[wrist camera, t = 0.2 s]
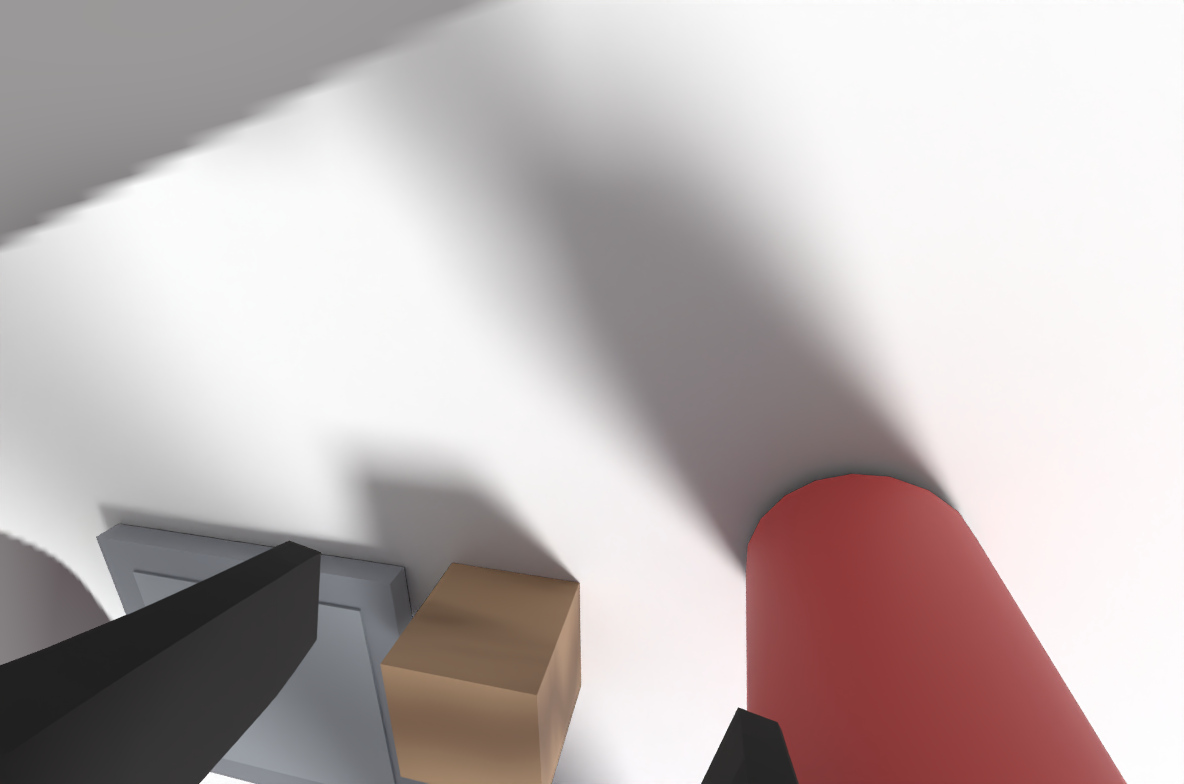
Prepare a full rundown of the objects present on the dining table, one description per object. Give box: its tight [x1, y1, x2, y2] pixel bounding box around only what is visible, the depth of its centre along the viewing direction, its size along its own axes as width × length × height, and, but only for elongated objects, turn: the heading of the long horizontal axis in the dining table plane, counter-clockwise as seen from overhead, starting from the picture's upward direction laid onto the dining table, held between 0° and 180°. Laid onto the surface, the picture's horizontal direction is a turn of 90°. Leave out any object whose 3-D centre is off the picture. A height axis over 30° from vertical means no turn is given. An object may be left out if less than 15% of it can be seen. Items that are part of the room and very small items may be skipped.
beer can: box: [746, 474, 1127, 784], centre depth 13 cm, size 7×7×12 cm
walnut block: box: [380, 563, 581, 784], centre depth 21 cm, size 5×5×5 cm
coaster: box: [96, 524, 429, 784], centre depth 27 cm, size 14×14×1 cm
